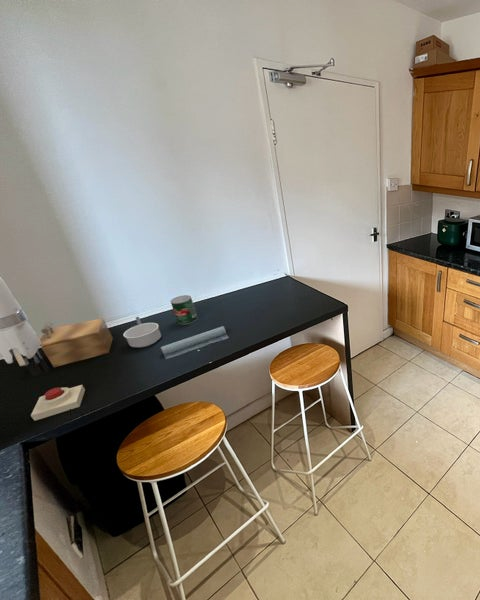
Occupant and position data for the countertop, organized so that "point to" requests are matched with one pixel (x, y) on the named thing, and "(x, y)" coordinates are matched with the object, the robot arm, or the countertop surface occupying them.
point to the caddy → (79, 348)
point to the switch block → (58, 403)
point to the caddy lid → (69, 331)
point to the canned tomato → (184, 309)
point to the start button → (53, 393)
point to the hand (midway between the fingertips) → (41, 372)
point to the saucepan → (142, 334)
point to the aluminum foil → (194, 342)
